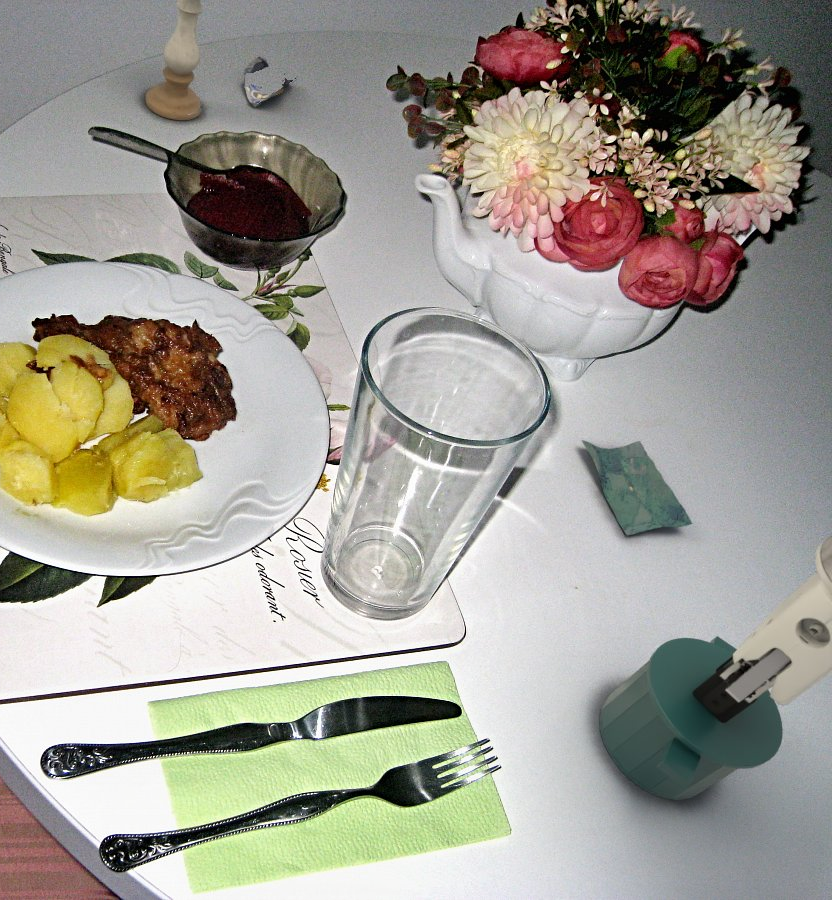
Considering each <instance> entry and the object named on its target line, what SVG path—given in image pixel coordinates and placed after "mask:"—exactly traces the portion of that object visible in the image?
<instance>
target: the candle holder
mask: <svg viewBox="0 0 832 900" xmlns="http://www.w3.org/2000/svg"><path fill="white" fill-rule="evenodd" d="M175 6H176V8H177V9H178V16H177V21H176V26H175V29H174V32H173V33H172V35H171V37H169V39H168V41H167V42H166V44H165V46H164V49H163V53H162V54H163V55H162V57H163V61H164V63H165V65H166V66H165V67H164V68H163V70H162V75H163V77H164V80H165V82H159V83H157V84H156V85H155V86H153V87H151V88H150V89H148V90H147V91H146V94H145V104H146V106H147V107H148V109H149V110H150V111H152V113H155V114H156V115H159V116H160V117H163V118H166V119H169V120H175V121H189V120H193V119H195V118H197V117H199V116H200V114H201V113H202V110H203V107H202V108H201V110H200V111H198V112H197V113H194V112H195V111H197V110H198V109H199V108H200V101H199V99H200V97H199V96H198V97H197V94H196V92H195V91H194V90H193V88H190V87H189V86H190V85H191V83H192V82H193V81H194V80H195V74H194V71H195V70H196V68H197V67H198V66H199V64H200V60H201V53H200V47H199V44H198V39H197V25H198V19H199V15H201V14H202V13H203V12H204V8H203V5H202V2H201V0H178V1H177V2H176V4H175ZM191 113H194V114H191ZM188 114H191V115H188Z"/></svg>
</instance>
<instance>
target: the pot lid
mask: <svg viewBox="0 0 832 900" xmlns="http://www.w3.org/2000/svg"><path fill="white" fill-rule="evenodd" d="M710 642H711V641H707V640H703V639H700V638H694V637H677V638H673V639H670V640H668V641H665V642H664V643H663V644H661V645H659V646H658V647H657V648H656V650H654V651H653V652H652V654H651V656H650V658H649V660H648V661H649V663H648V666H647V686H648V690H649V694H650V697H651V699H652V702H653V704H654V706H655V708H656V710H657V712H658V714H659V715H660V717H661V718H662V720H663V721H664V723H665V724H666V725H667V726H668V728H669V729H670V730H671V731H672V732H673V733H674V735H675V736H676V737H677V738H678V739H680V740H681V741H682V742H683V743H684V744H685V745H686V746H688V747H689V748H690V749H691V750H693V751H694V752H696V753H697V754H699V755H700V756H702V757H704V758H706V759H708V760H710V761H712V762H714V763H717V764H719V765H722V766H726V767H730V768H736V769H737V770H748V769H749V770H750V769H754V768H757V767H761V766H762V765H764V764H766V763H768V762H769V761H771V760H772V759H773V758H774V757H775V756H776V755H777V753H778V751H779V750H780V747H781V745H782V741H783V730H784V729H783V721H782V717H781V713H780V710H779V708H778V704H777V703H776V701H774V700H773V699H772V698H771V697H770V693H771V691H770V690H769V689H768V690H767V691H765V692H764V693H763V694H761V695H760V696H759V697H757V698H756V699H757V700H756V701H755V702H754V703H753V704H751V705H750V706H749V707H747V708H746V709H744V710H743V711H742V712H740V713H739V714H737V715H736V716H735V717H733V718H732V719H730V720H729V721H727V722H726V723H722V722H720V721H719V720H718V719H717V718H716V717H715V716H714V715H712V714H711V713H710V712H709V711H708V710H707V709H706V708H705V707H704V706H703V705H702V704H701V703H700V702H699V701H698V700H697V699H696V698H695V697H694V696H693V693H692V692H693V691H694V690H695V689H696V688H697V687H698V686H699V685H701V684H702V683H703V682H705V681H706V680H707V679H708V678H710V677H711V676H712V675H713V674H715V673H716V669H717V668H718V667H719V666H720V665H722V664H723V663H724V662H725V661H727V660H728V659H729V658H730V657H732V656H733V654H732V653H730V652H728V651H727V650H725V649H723V648H721V647H719V646H717V645H715V644H712V643H710ZM733 663H734V661H733V660H731V661H730V662H729V663H728V664H726V665H725V666H724V668H725V669H727V668H728V667H730V666H731V665H732V664H733ZM747 670H749V669H747V668H746V667H745V666H743V667H742V668H741V669H739V670H738V671H737V672H740V673H741V674H742V675H743V674H744V673H745V672H746V671H747Z"/></svg>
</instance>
